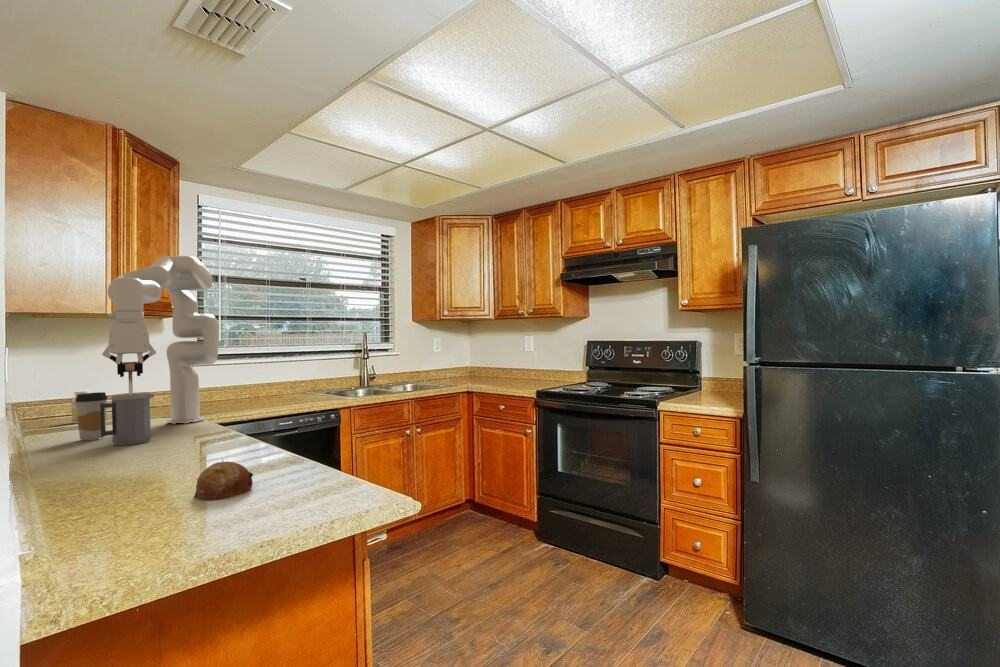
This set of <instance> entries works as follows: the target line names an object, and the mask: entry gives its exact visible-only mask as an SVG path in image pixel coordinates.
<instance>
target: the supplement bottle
mask: <svg viewBox="0 0 1000 667" xmlns="http://www.w3.org/2000/svg"><path fill="white" fill-rule="evenodd" d="M84 393H90V390H89V389H88V390H78V391H77V390H76V391H74V393H73V394H74V397H73V398H72V399H71V419H72V420H71V422H72V423H73V424H78V420H77V407H76V402H75V400H76V398H77V394H84Z"/></svg>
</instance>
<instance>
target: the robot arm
mask: <svg viewBox="0 0 1000 667" xmlns="http://www.w3.org/2000/svg"><path fill="white" fill-rule="evenodd" d="M212 285H213V277H212V273H211V272H210V271H209V269H208V268H207V267H206V266H205V264H204V263H203V262H202V261H200V260H199V258H197V257H195V256H191V255H166V256H162V257H160V258H159V259H158V260H156V261H155V262H153V263H152V264H150V265H149V266H147V267H144V268H140V269H136V270H133V271H129V272H126V273H122V274H119V276H117V277H116V278H114V279H113V280H112V281H110V283H109V285H108V287H107V296H108V298H109V299H110V300H111V301H112V302H113V312H112V313H107V318H108V319H112V320H113V321H110V325H109V331H108V332H109V333H108V345H107V346H106V348H105V349H104V351H103V352H102V354H101V355H102V356H103V357H104V358H107V359H110V360H111V361H112V362H114V363H115V364H116V367H117V371H116V372H117V374H116V375H119V378H124V377H125V372H123V357H124V355H129V354H130V355H131V354H136V356H137V372H136V376H137V377H140V376H141V374H143V373H144V369H143V368H144V364H143V363H144V362H145V361H146V360H148V359H149V358H150V357H152V356H154V355H156V354H157V351H156V350H155V349H154V347H153V346H152V344H151V343H150V334H149V327H148V323H147V321H145V319H144V315H145V314H144V313H145V312H144V304H154V303H157V302H158V301H160V299H161V298H162V296H163V290H162V289H165V290H166V291H167V293H168V295H169V296H170V298H171V302H172V323H171V324H172V327H171V328H172V333H173V335H174V336H175V338H176V337H177V338H180V339H203V340H184V341H183V340H181V341H175V342H172V343H169V345H168V346H167V348H166V351H165V352H166V359H167V362H168V368H169V378H170V379H169V381H170V384H169V386H170V387H169V388H170V415H171V416H170V417H171V418H169V419H167V420H166V424H167V423H172V424H171V425H177V424H176V423H184V424H191V423H190V422H193V423H198V422H202V421H204V420H205V417H204V416H202V415H201V413H200V412H201V410H200V384H199V383H200V382H199V380H200V378H199V374H198V373H197V371H196V370H195V369H194V368H193V366H201V365H202V366H206V365H213V364H215V363H216V362H217V361H218V358H219V340H220V338H219V334H220V332H219V330H220V328H219V321H218V319H217V317H216V316H215V315H213V314H210V313H199V302H198V300H197V299H196V298H195V296H194V295H193V294H192V293H191V292H190V291H207V290H209V289H211V288H212ZM145 353H147V354H145ZM113 354H114V355H113ZM143 354H145V355H143ZM115 355H116V356H115Z"/></svg>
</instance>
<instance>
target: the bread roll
mask: <svg viewBox="0 0 1000 667" xmlns="http://www.w3.org/2000/svg"><path fill="white" fill-rule="evenodd" d="M253 476H254V474H253V473H252V472H250V471H249V470H248V469H247V468H246V467H245V466H244V465H242V464H240V463H238V462H235V461H234V462H233V461H217V462H214V463H212V464H211V465H209V466H208V467H207V468H204V469H203V471H202V472H201V473H200V474H199V477H198V478H197V479H196V486H195V488H196V489H195V493H194V496H193V497H195V498H198V499H199V500H204V501H218V500H224V499H230V498H233V497H237V496H240V495H243V494H246V493H247V492H249V491H251V489H252V488H253V484H254V483H253Z"/></svg>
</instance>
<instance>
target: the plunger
mask: <svg viewBox="0 0 1000 667" xmlns="http://www.w3.org/2000/svg"><path fill="white" fill-rule="evenodd" d="M122 362H123V361H122ZM137 363H138V361H125V362H123V372H124V373H128V393H129V394H133V393H134V389H133V388H134V385H133V384H134V383H133V373H134V372H136V373H137Z"/></svg>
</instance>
